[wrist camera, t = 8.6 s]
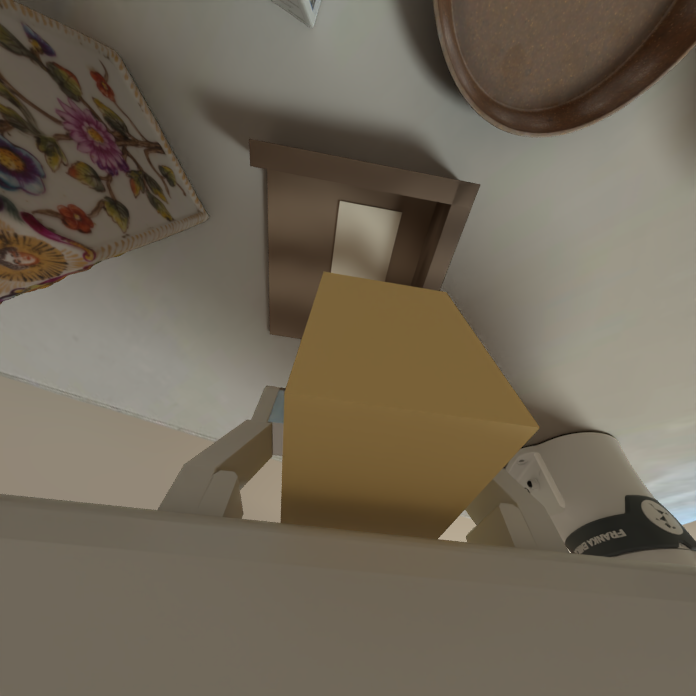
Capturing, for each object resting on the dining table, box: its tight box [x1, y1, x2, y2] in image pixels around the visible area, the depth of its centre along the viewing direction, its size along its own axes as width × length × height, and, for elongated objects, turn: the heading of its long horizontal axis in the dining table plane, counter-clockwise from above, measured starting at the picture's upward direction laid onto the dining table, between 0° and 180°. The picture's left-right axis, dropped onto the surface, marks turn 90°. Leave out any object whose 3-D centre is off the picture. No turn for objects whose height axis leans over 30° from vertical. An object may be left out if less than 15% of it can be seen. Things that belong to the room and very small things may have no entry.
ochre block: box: [281, 272, 540, 539], centre depth 9 cm, size 4×9×6 cm, turn 171°
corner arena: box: [249, 139, 480, 339], centre depth 25 cm, size 18×16×4 cm
